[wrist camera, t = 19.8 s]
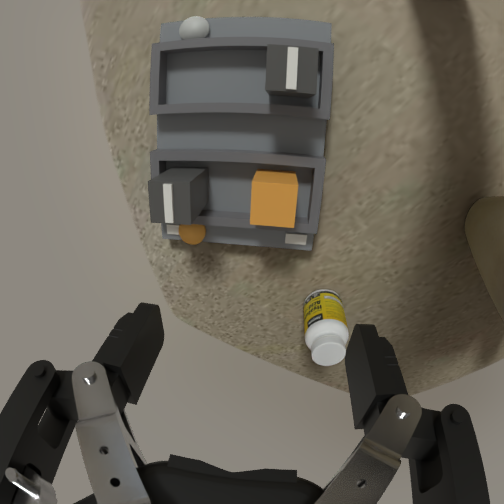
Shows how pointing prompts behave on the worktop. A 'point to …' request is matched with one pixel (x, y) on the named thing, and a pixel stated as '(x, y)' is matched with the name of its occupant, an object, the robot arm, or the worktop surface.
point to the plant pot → (488, 245)
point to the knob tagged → (178, 195)
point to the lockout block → (274, 198)
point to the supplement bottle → (325, 327)
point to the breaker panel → (239, 122)
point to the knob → (291, 71)
